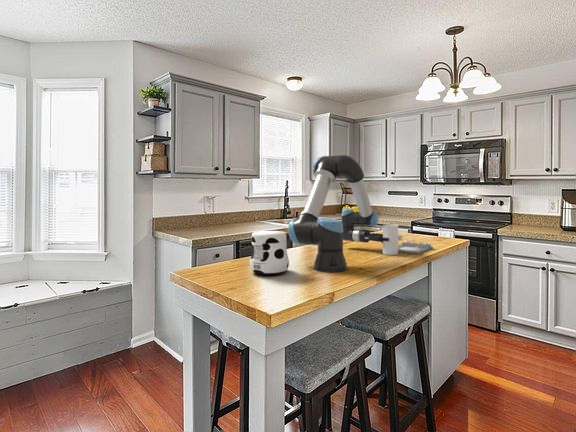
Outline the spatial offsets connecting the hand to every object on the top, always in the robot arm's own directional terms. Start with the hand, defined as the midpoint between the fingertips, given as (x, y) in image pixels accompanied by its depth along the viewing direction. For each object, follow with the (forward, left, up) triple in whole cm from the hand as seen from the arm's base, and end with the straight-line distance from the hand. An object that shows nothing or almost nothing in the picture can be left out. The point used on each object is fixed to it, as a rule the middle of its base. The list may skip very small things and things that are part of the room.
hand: (398, 239), depth 193 cm
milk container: (-73, +28, -9) cm, 79 cm away
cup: (0, +5, -9) cm, 10 cm away
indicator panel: (+18, +1, -9) cm, 20 cm away
